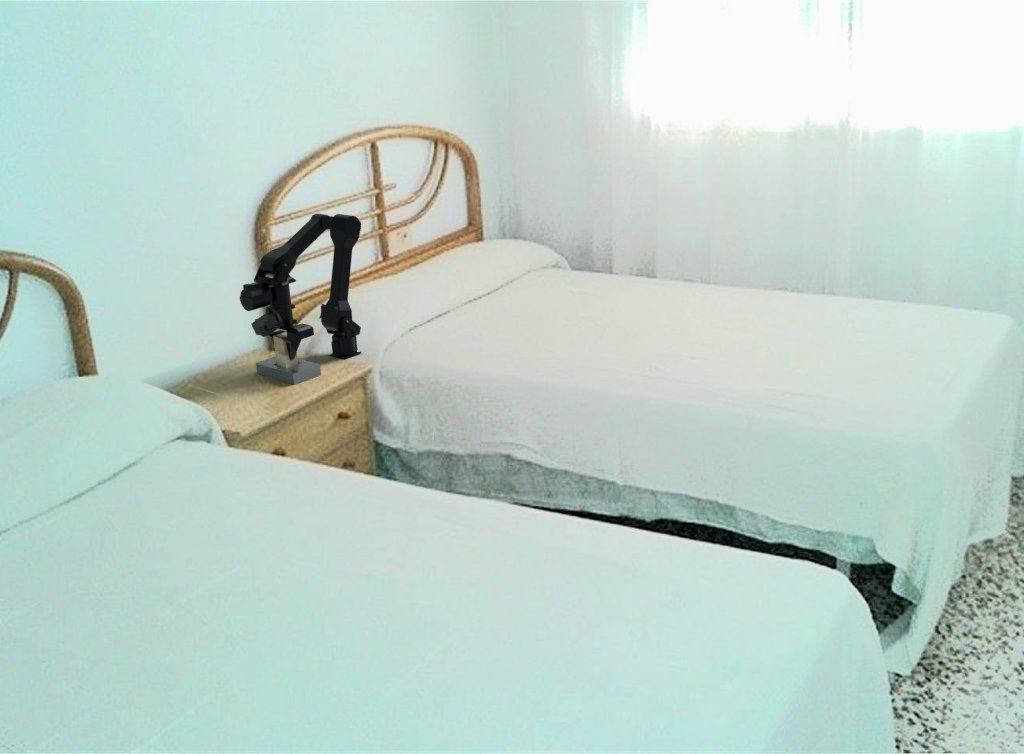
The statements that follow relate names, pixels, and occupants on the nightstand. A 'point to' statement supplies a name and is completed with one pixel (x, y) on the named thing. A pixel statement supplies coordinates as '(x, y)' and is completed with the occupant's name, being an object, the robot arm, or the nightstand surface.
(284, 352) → the ash peg
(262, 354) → the nightstand surface
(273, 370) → the grey slotted block
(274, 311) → the robot arm
